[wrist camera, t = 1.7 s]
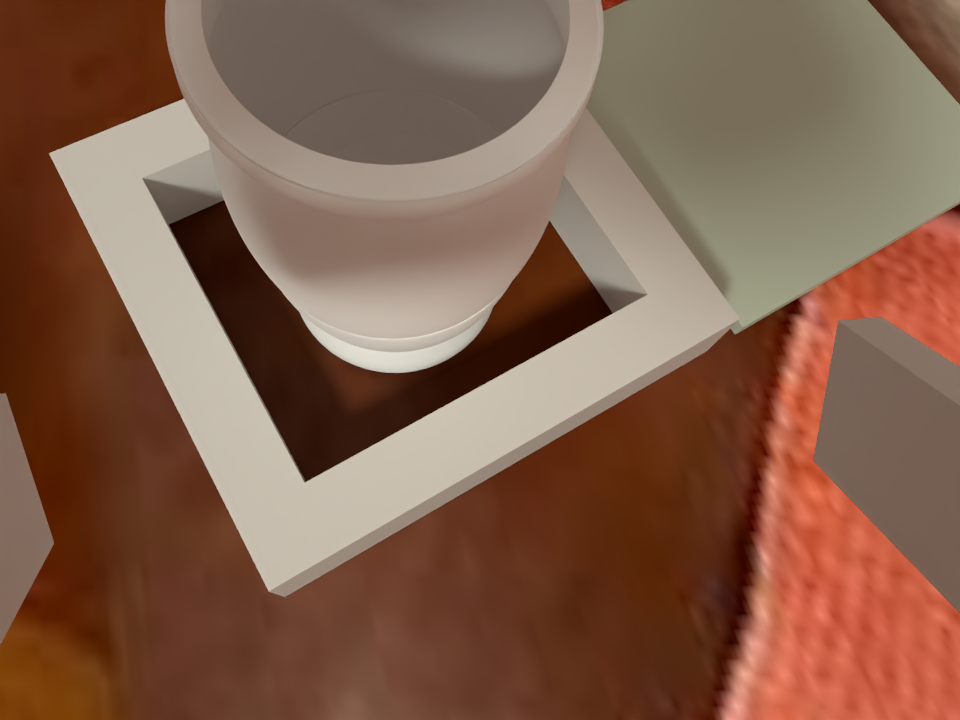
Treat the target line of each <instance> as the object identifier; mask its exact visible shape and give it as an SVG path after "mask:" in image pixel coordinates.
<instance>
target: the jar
mask: <svg viewBox="0 0 960 720" xmlns="http://www.w3.org/2000/svg"><path fill="white" fill-rule="evenodd" d="M165 29H166V38H167V44H168V49H169V53H170V57H171V61H172V64H173V67H174V71H175V74H176V78H177V81H178V84H179V87H180V89H181V92H182V94H183V97H184V99H185V101H186V103H187V105H188V107H189V108H190V110H191V112H192V114H193V115H194V117H195V119H196V120H197V122H198V124H199V125H200V127H201V128H202V129H203V131H204V132H205V133H206V135H207V136H208V140H209V145H210V151H211V156H212V160H213V164H214V168H215V172H216V176H217V179H218V183H219V186H220V189H221V192H222V195H223V198H224V201H225V203H226V206H227V208H228V211H229V213H230V215H231V217H232V220H233V222H234V224H235V226H236V228H237V230H238V232H239V234H240V236H241V237H242V239H243V241H244V243H245V244H246V246H247V248H248V249H249V251H250V252H251V254H252V255H253V257H254V258H255V260H256V261H257V262H258V264H259V265H260V267H261V268H262V269H263V270H264V272H265V273H266V274H267V275H268V277H269V278H270V279H271V280H272V281H273V282H274V284H275V285H276V286H277V287H278V288H279V289H280V290H281V291H282V293H283V294H284V295H285V296H286V298H287V299H288V300H289V301H290V302H291V304H292V305H293V306H294V307H295V308H296V309H297V310H298V311H299V312H300V314H301V317H302V319H303V320H304V322H305V324H306V326H307V327H308V329H309V330H310V331H311V333H312V334H313V335H314V336H315V338H316V339H317V340H318V341H319V342H320V343H321V344H322V345H323V346H324V347H326V348H327V349H328V350H329V351H330V352H332V353H333V354H335V355H336V356H338V357H339V358H341V359H343V360H345V361H347V362H349V363H351V364H353V365H356V366H358V367H361V368H365V369H368V370H373V371H378V372H386V373H404V372H413V371H418V370H422V369H426V368H429V367H432V366H435V365H437V364H440V363H442V362H444V361H446V360H448V359H450V358H451V357H453V356H454V355H456V354H457V353H459V352H460V351H461V350H463V349H464V348H465V347H466V346H467V345H468V344H469V343H471V341H472V340H473V339H474V338H475V337H476V336H477V335H478V334H479V332H480V331H481V330H482V328H483V327H484V325H485V323H486V322H487V320H488V318H489V316H490V314H491V312H492V309H493V306H494V305H495V304H496V303H497V302H498V300H499V299H500V298H501V297H502V295H503V294H504V292H505V291H506V290H507V288H508V287H509V285H510V284H511V282H512V281H513V279H514V278H515V277H516V276H517V275H518V273H519V272H520V271H521V269H522V268H523V267H524V265H525V264H526V262H527V261H528V259H529V258H530V256H531V255H532V253H533V251H534V250H535V248H536V246H537V244H538V242H539V241H540V239H541V237H542V235H543V233H544V231H545V228H546V226H547V224H548V222H549V219H550V217H551V214H552V212H553V209H554V206H555V203H556V200H557V197H558V194H559V190H560V187H561V183H562V179H563V174H564V170H565V165H566V159H567V153H568V146H569V138H570V133H571V132H572V131H573V129H574V127H575V126H576V124H577V122H578V121H579V119H580V117H581V115H582V113H583V111H584V109H585V107H586V105H587V103H588V100H589V98H590V95H591V92H592V89H593V86H594V82H595V78H596V74H597V71H598V68H599V64H600V59H601V54H602V48H603V37H604V20H603V9H602V3H601V0H166V6H165Z"/></svg>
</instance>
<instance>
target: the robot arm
mask: <svg viewBox="0 0 960 720" xmlns="http://www.w3.org/2000/svg"><path fill="white" fill-rule="evenodd" d="M813 461H814V462H815V463H816V464H817V465H818V466H819V467H820V468H821V469H822V470H823V471H824V472H825V473H826V474H827V475H828V476H829V477H830V479H831V480H832V481H833V482H834V483H835V484H836V485H837V486H838V487H839V488H840V489H841V490H842V491H843V492H844V493H845V494H846V495H847V496H848V497H849V498H850V499H851V500H852V501H853V502H854V504H855V505H856V506H857V507H858V508H859V509H860V510H861V511H862V512H863V513H864V514H865V515H866V516H867V517H868V518H869V519H870V520H871V521H872V522H873V523H874V524H875V525H876V526H877V527H878V529H879V530H880V531H881V532H882V533H883V534H884V535H885V536H886V537H887V538H888V539H889V540H890V541H891V542H892V543H893V544H894V545H895V546H896V547H897V548H898V549H899V550H900V551H901V552H902V554H903V555H904V556H905V557H906V558H907V559H908V560H909V561H910V562H911V563H912V564H913V565H914V566H915V567H916V568H917V569H918V570H919V571H920V572H921V573H922V574H923V575H924V576H925V577H926V579H927V580H928V581H929V582H930V583H931V584H932V585H933V586H934V587H935V588H936V589H937V590H938V591H939V592H940V593H941V594H942V595H943V596H944V597H945V598H946V599H947V600H948V601H949V602H950V603H951V605H952V606H953V607H954V608H955V609H956V610H957V611H958V612H959V613H960V367H959V366H957V365H956V364H954V363H953V362H951V361H949V360H948V359H946V358H945V357H943V356H942V355H940V354H938V353H937V352H935V351H934V350H932V349H931V348H929V347H927V346H926V345H924V344H923V343H921V342H920V341H918V340H916V339H915V338H913V337H912V336H910V335H909V334H907V333H905V332H904V331H902V330H901V329H899V328H898V327H896V326H895V325H893V324H891V323H890V322H888V321H887V320H885V319H884V318H882V317H875V318H864V319H852V320H841V321H838V326H837V331H836V337H835V342H834V348H833V354H832V359H831V365H830V370H829V376H828V381H827V387H826V393H825V398H824V404H823V409H822V415H821V420H820V426H819V432H818V437H817V443H816V448H815V454H814V459H813ZM53 544H54V541H53V538H52V535H51V532H50V529H49V526H48V523H47V520H46V517H45V513H44V510H43V507H42V504H41V501H40V498H39V495H38V492H37V489H36V486H35V482H34V479H33V476H32V473H31V470H30V467H29V464H28V461H27V458H26V455H25V452H24V448H23V445H22V442H21V439H20V436H19V433H18V430H17V427H16V424H15V421H14V418H13V414H12V411H11V408H10V405H9V402H8V399H7V396H6V393H3V394H0V644H1V642H2V640H3V639H4V637H5V635H6V633H7V631H8V629H9V627H10V625H11V623H12V622H13V620H14V618H15V616H16V614H17V612H18V610H19V608H20V606H21V605H22V603H23V601H24V599H25V597H26V595H27V593H28V591H29V589H30V588H31V586H32V584H33V582H34V580H35V578H36V576H37V574H38V572H39V571H40V569H41V567H42V565H43V563H44V561H45V559H46V557H47V555H48V554H49V552H50V550H51V548H52V546H53Z"/></svg>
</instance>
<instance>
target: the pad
mask: <svg viewBox="0 0 960 720" xmlns="http://www.w3.org/2000/svg"><path fill="white" fill-rule="evenodd" d="M603 20H604V37H603V48H602V54H601V59H600V64H599V68H598V71H597V74H596V78H595V82H594V86H593V89H592V92H591V95H590V98H589V100H588V103H587V105H586V108H587V110H588V111H589V112H590V114H591V115H592V116H593V118H594V119H595V120H596V122H597V123H598V125H599V126H600V127H601V129H602V130H603V131H604V133H605V134H606V136H607V137H608V138H609V140H610V141H611V142H612V144H613V145H614V147H615V148H616V149H617V151H618V152H619V153H620V155H621V156H622V158H623V159H624V160H625V162H626V163H627V164H628V166H629V167H630V169H631V170H632V171H633V173H634V174H635V175H636V177H637V178H638V180H639V181H640V182H641V184H642V185H643V186H644V188H645V189H646V190H647V192H648V193H649V195H650V196H651V197H652V199H653V200H654V201H655V203H656V204H657V206H658V207H659V208H660V210H661V211H662V212H663V214H664V215H665V217H666V218H667V219H668V221H669V222H670V223H671V225H672V226H673V228H674V229H675V230H676V232H677V233H678V234H679V236H680V237H681V239H682V240H683V241H684V243H685V244H686V245H687V247H688V248H689V250H690V251H691V252H692V254H693V255H694V256H695V258H696V259H697V260H698V262H699V263H700V265H701V266H702V267H703V269H704V270H705V271H706V273H707V274H708V276H709V277H710V278H711V280H712V281H713V282H714V284H715V285H716V287H717V288H718V289H719V291H720V292H721V293H722V295H723V296H724V298H725V299H726V300H727V302H728V303H729V304H730V306H731V307H732V309H733V310H734V311H735V313H736V314H737V315H738V317H739V318H740V320H739V321H737V322H736V323H735V324H734V325H733V326H732V327H731V330H732V331H733V332H734V334H737V333H739V332H740V331H742V330H744V329H746V328H747V327H749V326H751V325H752V324H754V323H756V322H758V321H759V320H761V319H763V318H764V317H766V316H768V315H770V314H771V313H773V312H775V311H776V310H778V309H780V308H782V307H783V306H785V305H787V304H788V303H790V302H792V301H794V300H795V299H797V298H799V297H800V296H802V295H804V294H806V293H807V292H809V291H811V290H812V289H814V288H816V287H818V286H819V285H821V284H823V283H824V282H826V281H828V280H830V279H831V278H833V277H835V276H836V275H838V274H840V273H842V272H843V271H845V270H847V269H848V268H850V267H852V266H854V265H855V264H857V263H859V262H861V261H862V260H864V259H866V258H867V257H869V256H871V255H873V254H874V253H876V252H878V251H879V250H881V249H883V248H885V247H886V246H888V245H890V244H891V243H893V242H895V241H897V240H898V239H900V238H902V237H903V236H905V235H907V234H909V233H910V232H912V231H914V230H915V229H917V228H919V227H921V226H922V225H924V224H926V223H927V222H929V221H931V220H933V219H934V218H936V217H938V216H939V215H941V214H943V213H945V212H946V211H948V210H950V209H951V208H953V207H955V206H957V205H958V204H960V105H959V104H958V102H957V101H956V100H955V99H954V98H953V97H952V96H951V95H950V93H949V92H948V91H947V90H946V89H945V88H944V87H943V85H942V84H941V83H940V82H939V81H938V80H937V79H936V78H935V76H934V75H933V74H932V73H931V72H930V71H929V70H928V68H927V67H926V66H925V65H924V64H923V63H922V62H921V60H920V59H919V58H918V57H917V56H916V55H915V54H914V53H913V51H912V50H911V49H910V48H909V47H908V46H907V45H906V43H905V42H904V41H903V40H902V39H901V38H900V37H899V36H898V34H897V33H896V32H895V31H894V30H893V29H892V28H891V26H890V25H889V24H888V23H887V22H886V21H885V20H884V18H883V17H882V16H881V15H880V14H879V13H878V12H877V11H876V9H875V8H874V7H873V6H872V5H871V4H870V3H869V1H868V0H627V1H625V2H623V3H621V4H618V5H616V6H614V7H611V8H609V9H607V10H605V11H603Z"/></svg>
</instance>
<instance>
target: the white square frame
mask: <svg viewBox="0 0 960 720" xmlns="http://www.w3.org/2000/svg"><path fill="white" fill-rule="evenodd" d="M49 154H50V156H51V158H52V160H53V162H54V164H55V166H56V168H57V170H58V172H59V174H60V176H61V178H62V180H63V182H64V184H65V186H66V188H67V190H68V192H69V194H70V196H71V198H72V200H73V202H74V204H75V206H76V208H77V210H78V212H79V214H80V216H81V218H82V220H83V222H84V224H85V226H86V228H87V230H88V232H89V234H90V236H91V238H92V240H93V242H94V244H95V246H96V248H97V250H98V252H99V254H100V256H101V258H102V260H103V262H104V264H105V266H106V268H107V270H108V272H109V274H110V276H111V278H112V280H113V282H114V284H115V286H116V288H117V290H118V292H119V294H120V296H121V298H122V300H123V302H124V304H125V306H126V308H127V310H128V312H129V314H130V316H131V318H132V320H133V322H134V324H135V326H136V328H137V330H138V332H139V334H140V336H141V338H142V340H143V342H144V344H145V346H146V348H147V350H148V352H149V354H150V356H151V358H152V360H153V362H154V364H155V366H156V368H157V370H158V372H159V374H160V376H161V378H162V380H163V382H164V384H165V386H166V388H167V390H168V392H169V393H170V395H171V397H172V399H173V401H174V403H175V405H176V407H177V409H178V411H179V413H180V415H181V417H182V419H183V421H184V423H185V425H186V427H187V429H188V431H189V433H190V435H191V437H192V439H193V441H194V443H195V445H196V447H197V449H198V451H199V453H200V455H201V457H202V459H203V461H204V463H205V465H206V467H207V469H208V471H209V473H210V475H211V477H212V479H213V481H214V483H215V485H216V487H217V489H218V491H219V493H220V495H221V497H222V499H223V501H224V503H225V505H226V507H227V509H228V511H229V513H230V515H231V517H232V519H233V521H234V523H235V525H236V527H237V529H238V531H239V533H240V535H241V537H242V539H243V541H244V543H245V545H246V547H247V549H248V551H249V553H250V555H251V557H252V559H253V561H254V563H255V565H256V567H257V569H258V571H259V573H260V575H261V577H262V579H263V581H264V583H265V585H266V587H267V589H268V591H269V592H272V593H275V594H278V595H280V596H283V597H286V596H287V595H289V594H291V593H293V592H294V591H296V590H298V589H299V588H301V587H303V586H305V585H306V584H308V583H310V582H311V581H313V580H315V579H317V578H318V577H320V576H322V575H323V574H325V573H327V572H329V571H330V570H332V569H334V568H336V567H337V566H339V565H341V564H342V563H344V562H346V561H348V560H349V559H351V558H353V557H354V556H356V555H358V554H360V553H361V552H363V551H365V550H366V549H368V548H370V547H372V546H373V545H375V544H377V543H378V542H380V541H382V540H384V539H385V538H387V537H389V536H390V535H392V534H394V533H396V532H397V531H399V530H401V529H402V528H404V527H406V526H408V525H409V524H411V523H413V522H414V521H416V520H418V519H420V518H421V517H423V516H425V515H426V514H428V513H430V512H432V511H433V510H435V509H437V508H438V507H440V506H442V505H444V504H445V503H447V502H449V501H450V500H452V499H454V498H456V497H457V496H459V495H461V494H462V493H464V492H466V491H468V490H469V489H471V488H473V487H474V486H476V485H478V484H480V483H481V482H483V481H485V480H486V479H488V478H490V477H492V476H493V475H495V474H497V473H498V472H500V471H502V470H504V469H505V468H507V467H509V466H511V465H512V464H514V463H516V462H517V461H519V460H521V459H523V458H524V457H526V456H528V455H529V454H531V453H533V452H535V451H536V450H538V449H540V448H541V447H543V446H545V445H547V444H548V443H550V442H552V441H553V440H555V439H557V438H559V437H560V436H562V435H564V434H565V433H567V432H569V431H571V430H572V429H574V428H576V427H577V426H579V425H581V424H583V423H584V422H586V421H588V420H589V419H591V418H593V417H595V416H596V415H598V414H600V413H601V412H603V411H605V410H607V409H608V408H610V407H612V406H613V405H615V404H617V403H619V402H620V401H622V400H624V399H625V398H627V397H629V396H631V395H632V394H634V393H636V392H637V391H639V390H641V389H643V388H644V387H646V386H648V385H649V384H651V383H653V382H655V381H656V380H658V379H660V378H661V377H663V376H665V375H667V374H668V373H670V372H672V371H673V370H675V369H677V368H679V367H680V366H682V365H684V364H686V363H687V362H689V361H691V360H692V359H694V358H696V357H698V356H699V355H701V354H703V353H704V352H706V351H707V350H708V349H709V348H710V347H712V346H713V345H714V344H715V343H716V342H717V341H718V340H719V339H720V338H721V337H722V336H723V335H724V334H725V333H726V332H727V331H728V330H729V329H730V328H731V327H732V326H733V325H734V324H735V323H736V322H737V321H739V320H740V318H739V317H738V315H737V314H736V313H735V311H734V310H733V309H732V307H731V306H730V304H729V303H728V302H727V300H726V299H725V298H724V296H723V295H722V293H721V292H720V291H719V289H718V288H717V287H716V285H715V284H714V282H713V281H712V280H711V278H710V277H709V276H708V274H707V273H706V271H705V270H704V269H703V267H702V266H701V265H700V263H699V262H698V260H697V259H696V258H695V256H694V255H693V254H692V252H691V251H690V250H689V248H688V247H687V245H686V244H685V243H684V241H683V240H682V239H681V237H680V236H679V234H678V233H677V232H676V230H675V229H674V228H673V226H672V225H671V223H670V222H669V221H668V219H667V218H666V217H665V215H664V214H663V212H662V211H661V210H660V208H659V207H658V206H657V204H656V203H655V201H654V200H653V199H652V197H651V196H650V195H649V193H648V192H647V190H646V189H645V188H644V186H643V185H642V184H641V182H640V181H639V180H638V178H637V177H636V175H635V174H634V173H633V171H632V170H631V169H630V167H629V166H628V164H627V163H626V162H625V160H624V159H623V158H622V156H621V155H620V153H619V152H618V151H617V149H616V148H615V147H614V145H613V144H612V142H611V141H610V140H609V138H608V137H607V136H606V134H605V133H604V131H603V130H602V129H601V127H600V126H599V125H598V123H597V122H596V120H595V119H594V118H593V116H592V115H591V114H590V112H589V111H588V110H587V108H586V107H585V109H584V111H583V113H582V115H581V117H580V119H579V121H578V122H577V124H576V126H575V127H574V129H573V131H572V132H571V133H570V138H569V146H568V153H567V159H566V165H565V170H564V174H563V179H562V183H561V187H560V190H559V194H558V197H557V200H556V203H555V206H554V209H553V212H552V214H551V217H550V219H549V221H550V222H551V223H552V225H553V226H554V228H555V229H556V231H557V232H558V234H559V235H560V237H561V238H562V240H563V241H564V243H565V244H566V245H567V247H568V248H569V250H570V251H571V253H572V254H573V256H574V257H575V259H576V260H577V262H578V263H579V264H580V266H581V267H582V269H583V270H584V272H585V273H586V275H587V276H588V278H589V279H590V281H591V282H592V284H593V285H594V286H595V288H596V289H597V291H598V292H599V294H600V295H601V297H602V298H603V300H604V301H605V303H606V304H607V306H608V307H609V308H610V310H611V311H612V313H613V314H611V315H609V316H608V317H606V318H604V319H602V320H600V321H598V322H597V323H595V324H593V325H591V326H589V327H587V328H586V329H584V330H582V331H580V332H578V333H577V334H575V335H573V336H571V337H569V338H567V339H566V340H564V341H562V342H560V343H558V344H557V345H555V346H553V347H551V348H549V349H547V350H546V351H544V352H542V353H540V354H538V355H536V356H535V357H533V358H531V359H529V360H527V361H526V362H524V363H522V364H520V365H518V366H516V367H515V368H513V369H511V370H509V371H507V372H505V373H504V374H502V375H500V376H498V377H496V378H495V379H493V380H491V381H489V382H487V383H485V384H484V385H482V386H480V387H478V388H476V389H475V390H473V391H471V392H469V393H467V394H465V395H464V396H462V397H460V398H458V399H456V400H454V401H453V402H451V403H449V404H447V405H445V406H444V407H442V408H440V409H438V410H436V411H434V412H433V413H431V414H429V415H427V416H425V417H423V418H422V419H420V420H418V421H416V422H414V423H413V424H411V425H409V426H407V427H405V428H403V429H402V430H400V431H398V432H396V433H394V434H393V435H391V436H389V437H387V438H385V439H383V440H382V441H380V442H378V443H376V444H374V445H372V446H371V447H369V448H367V449H365V450H363V451H362V452H360V453H358V454H356V455H354V456H352V457H351V458H349V459H347V460H345V461H343V462H342V463H340V464H338V465H336V466H334V467H332V468H331V469H329V470H327V471H325V472H323V473H321V474H320V475H318V476H316V477H314V478H312V479H311V480H309V481H307V482H306V481H305V479H304V477H303V475H302V473H301V471H300V470H299V468H298V466H297V464H296V462H295V460H294V458H293V456H292V455H291V453H290V451H289V449H288V447H287V445H286V443H285V442H284V440H283V438H282V436H281V434H280V432H279V430H278V428H277V427H276V425H275V423H274V421H273V419H272V417H271V415H270V413H269V412H268V410H267V408H266V406H265V404H264V402H263V400H262V398H261V397H260V395H259V393H258V391H257V389H256V387H255V385H254V383H253V382H252V380H251V378H250V376H249V374H248V372H247V370H246V369H245V367H244V365H243V363H242V361H241V359H240V357H239V355H238V354H237V352H236V350H235V348H234V346H233V344H232V342H231V340H230V339H229V337H228V335H227V333H226V331H225V329H224V327H223V325H222V324H221V322H220V320H219V318H218V316H217V314H216V312H215V310H214V309H213V307H212V305H211V303H210V301H209V299H208V297H207V295H206V294H205V292H204V290H203V288H202V286H201V284H200V282H199V281H198V279H197V277H196V275H195V273H194V271H193V269H192V267H191V266H190V264H189V262H188V260H187V258H186V256H185V254H184V252H183V251H182V249H181V247H180V245H179V243H178V241H177V239H176V237H175V236H174V234H173V232H172V230H171V228H170V226H169V224H171V223H173V222H176V221H178V220H180V219H183V218H185V217H187V216H189V215H192V214H194V213H196V212H198V211H201V210H203V209H205V208H207V207H210V206H212V205H214V204H216V203H219V202H221V201H223V200H224V198H223V195H222V192H221V189H220V186H219V183H218V179H217V176H216V172H215V168H214V164H213V160H212V156H211V151H210V145H209V140H208V136H207V135H206V133H205V132H204V131H203V129H202V128H201V127H200V125H199V124H198V122H197V120H196V119H195V117H194V115H193V114H192V112H191V110H190V108H189V107H188V105H187V103H186V101H185V99H182V100H179V101H177V102H175V103H172V104H170V105H167V106H165V107H162V108H160V109H157V110H155V111H152V112H150V113H147V114H145V115H142V116H140V117H138V118H135V119H133V120H130V121H128V122H125V123H123V124H120V125H118V126H115V127H113V128H110V129H108V130H105V131H103V132H101V133H98V134H96V135H93V136H91V137H88V138H86V139H83V140H81V141H78V142H76V143H73V144H71V145H68V146H66V147H64V148H61V149H59V150H56V151H54V152H51V153H49Z"/></svg>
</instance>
